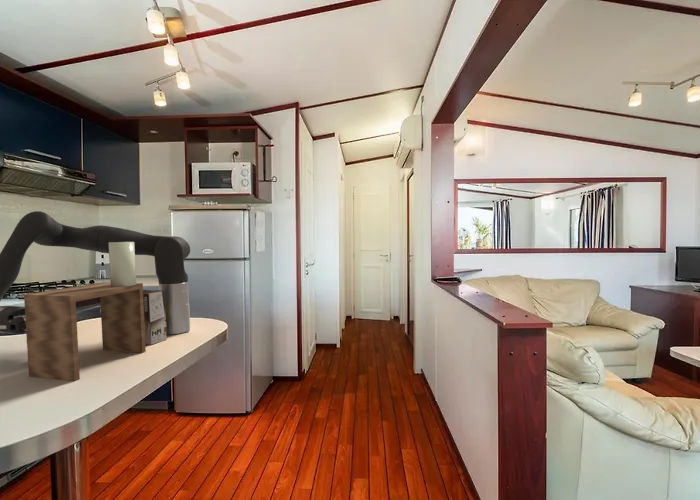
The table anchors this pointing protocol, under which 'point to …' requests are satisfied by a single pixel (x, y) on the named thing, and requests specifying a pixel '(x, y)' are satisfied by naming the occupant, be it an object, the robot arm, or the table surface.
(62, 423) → the table surface
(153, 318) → the coffee box
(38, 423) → the table surface
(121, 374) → the table surface
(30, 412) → the table surface
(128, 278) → the pale green cylinder
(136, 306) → the stand
